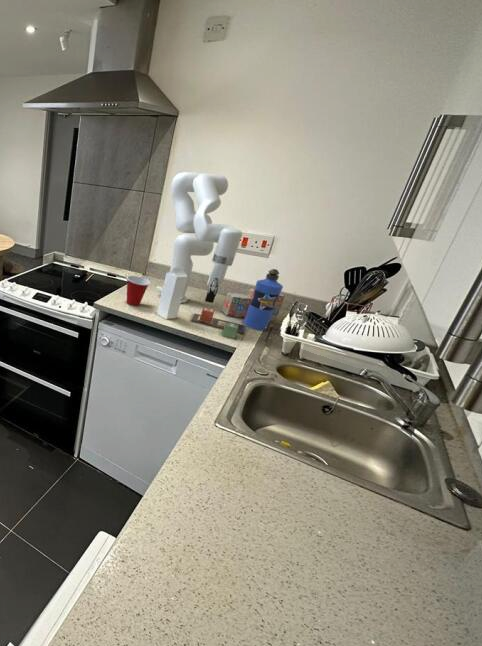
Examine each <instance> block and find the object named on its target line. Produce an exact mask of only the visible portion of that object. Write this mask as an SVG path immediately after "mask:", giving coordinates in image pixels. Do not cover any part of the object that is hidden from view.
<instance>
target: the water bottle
mask: <svg viewBox="0 0 482 646" xmlns="http://www.w3.org/2000/svg"><path fill="white" fill-rule="evenodd" d="M279 277H280V272H279V271H278V269H275V268H271V269H270V270H268V273H266V276H265V278H264V279H258V280H256V283H255V287H254V289H255V291H254V296H253V299H252V301H251V303H250V305H249V308H248V311H247V313H246V316H245V318H244V319H243V322H242V323H243V324H242V325H244V326H246V327H248V328H250V329H253V330H258V331H266V330H267V329H268V327H269V324H270V322H271V321H270V319H271V316H272V313H273V311H274V306H275V302H276V300H277V298H278V296H279V294H280V293H281V294H282V291H283V288H284V286H283V285H282V284H281V283H280V282H278V280H279ZM266 326H268V327H267V328H265V327H266Z"/></svg>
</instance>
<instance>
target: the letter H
mask: <svg viewBox="0 0 482 646" xmlns="http://www.w3.org/2000/svg"><path fill="white" fill-rule="evenodd" d="M200 315H201V316H200V320H202V321H206V322H210V323H211V321H212V318H214V315H215V309H213V308H208V307H203V308H202V310H201V314H200Z"/></svg>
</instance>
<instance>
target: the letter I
mask: <svg viewBox="0 0 482 646" xmlns="http://www.w3.org/2000/svg"><path fill="white" fill-rule="evenodd" d="M228 322H229V321H228ZM228 322H226V324H225V327H224V330H223V329H222V330H223V331H222V334H221V336H222V337H226V338H229V339H232V340H233V339H236V335H237V334H238V333H237V330H238V325H237V324H238V323H236V324H232V323H233V322H232V323H228Z"/></svg>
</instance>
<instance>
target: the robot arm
mask: <svg viewBox="0 0 482 646" xmlns="http://www.w3.org/2000/svg"><path fill="white" fill-rule="evenodd" d="M170 186H171V187H170V192H171V198H172V202H173V205H174V217H175V227H176V230H177V232H179V233H182V234H180V235H178V236H177V237H176V238H175V239H174V242H173V253H172V260H171V263H170V269H169V272H171V271H173V268H175V267H184V270H183V271H184V272H185V274H186V275H187V280H186V284H185V288H184V292H183V295H182V299H181V303H180V304H183V303H187V302H188V297H187V296H186V294H187V290H188V285H189V282H190V278H191V275H192V271H193V267H194V263H193V260H192V256H193V257H194V256H198V257H199V256H200V257H204V256H205V257H206V256H209V255H210V254H211V253H212V252H213V250H214V247H215V246H214V244H215V243H216V247H215V250H214V253H213V257H212V259H211V263H213V264H212V268H211V271H210V274H209V276H208V279H207V283H206V286H207V287H209V288H208V291H207V292H206V294H205V295H206V296H205V299H204V302H206V303H210V304H213V303H214V301H215V298H216V296H217V294H218V290H219V289H220V288H221V286H222V283H223V281H224V279H225V276H226V274H227V270H228V268H229V267H232V266H233V264H234V260H235V257H236V254H237V252H238V248H239V245H240V242H241V241H242V240H241V239H242V237H243V232H242V231H241V230H239V229H237V228H234V227H233V226H231V225H229V224H223V223H222V224H221V223H213V220H212V218H211V216H210V215H209V214H210V213H213V212H215V211H216V210H217V209H218V208H220V206H221V204H222V203H221V201H222V200H221V197H220V196H223V195H224V194H225V193H226V192H227V191H228V188H229V182H228V179H227V177H226V176H224V175H221V174H212V173H201V172H189V171H186V172H180V173H179V172H178V173H177V174H176V175H175V176H174V177H173V179H172V182H171V185H170ZM189 193H194V195H195V196H194V197H195V198H196V203H197V205H198V209H197V211H196V210H195V202H194V200H193V198H192V197H191V195H190V194H189ZM162 290H163V287H161V286H158V285H157V286H156V287H155V291H157V292H160V297H161V294H162Z"/></svg>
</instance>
